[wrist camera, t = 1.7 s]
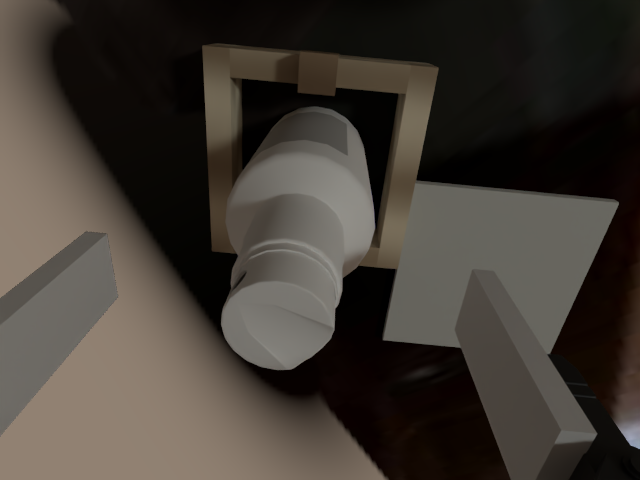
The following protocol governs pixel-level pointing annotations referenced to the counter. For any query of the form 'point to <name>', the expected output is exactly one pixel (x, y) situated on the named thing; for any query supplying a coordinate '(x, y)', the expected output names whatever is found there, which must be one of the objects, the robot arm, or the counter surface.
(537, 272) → the mat
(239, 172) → the wooden square frame
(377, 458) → the counter surface
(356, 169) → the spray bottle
